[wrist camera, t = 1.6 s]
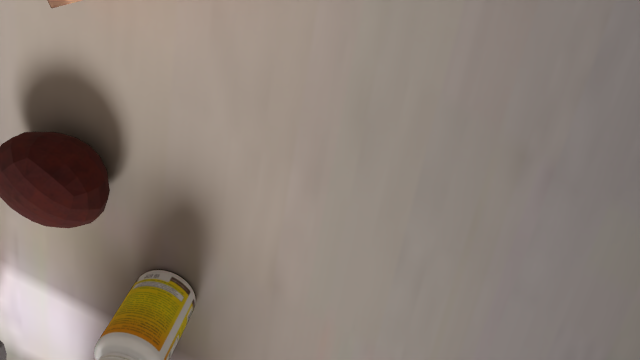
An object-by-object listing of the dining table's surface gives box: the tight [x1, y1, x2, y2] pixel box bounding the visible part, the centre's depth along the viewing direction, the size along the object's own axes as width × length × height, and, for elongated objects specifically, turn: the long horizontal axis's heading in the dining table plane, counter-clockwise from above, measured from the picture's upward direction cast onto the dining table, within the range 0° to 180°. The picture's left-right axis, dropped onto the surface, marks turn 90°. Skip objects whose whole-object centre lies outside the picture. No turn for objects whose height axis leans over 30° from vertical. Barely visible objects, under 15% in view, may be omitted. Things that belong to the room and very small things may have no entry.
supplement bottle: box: [94, 270, 196, 360], centre depth 47 cm, size 6×6×10 cm
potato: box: [0, 132, 110, 228], centre depth 42 cm, size 7×8×6 cm
